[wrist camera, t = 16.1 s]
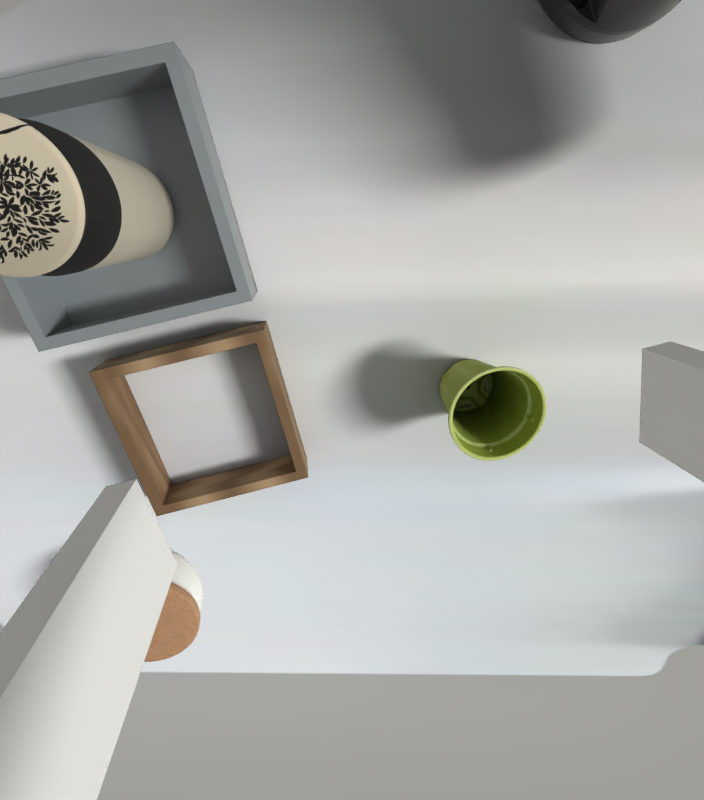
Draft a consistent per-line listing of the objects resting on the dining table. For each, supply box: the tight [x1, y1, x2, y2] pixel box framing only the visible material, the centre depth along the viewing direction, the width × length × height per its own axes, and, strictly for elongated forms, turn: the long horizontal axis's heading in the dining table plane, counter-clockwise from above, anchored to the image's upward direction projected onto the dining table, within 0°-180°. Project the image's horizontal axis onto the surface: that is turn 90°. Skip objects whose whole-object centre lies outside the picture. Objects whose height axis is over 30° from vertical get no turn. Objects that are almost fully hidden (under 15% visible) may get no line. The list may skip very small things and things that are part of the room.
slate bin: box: [0, 42, 257, 352], centre depth 36 cm, size 18×18×6 cm
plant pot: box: [440, 359, 546, 461], centre depth 45 cm, size 9×9×9 cm
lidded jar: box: [144, 552, 203, 662], centre depth 49 cm, size 11×11×9 cm
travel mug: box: [0, 113, 174, 278], centre depth 30 cm, size 8×8×18 cm
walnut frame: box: [89, 321, 308, 516], centre depth 45 cm, size 16×16×4 cm
